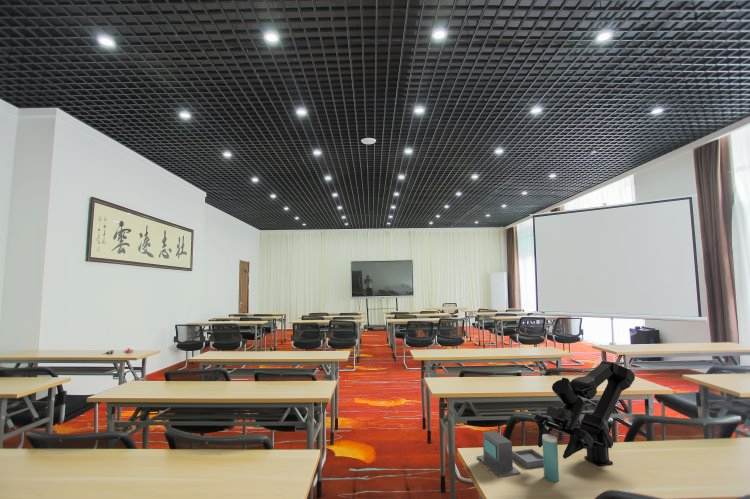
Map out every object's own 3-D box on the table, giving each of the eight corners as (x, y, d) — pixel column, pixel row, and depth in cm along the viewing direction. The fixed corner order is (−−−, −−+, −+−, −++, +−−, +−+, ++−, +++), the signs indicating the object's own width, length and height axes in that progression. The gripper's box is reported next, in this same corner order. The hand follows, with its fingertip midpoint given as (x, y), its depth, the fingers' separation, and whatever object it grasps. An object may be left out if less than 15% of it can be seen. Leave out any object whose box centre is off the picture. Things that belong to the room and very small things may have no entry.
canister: (552, 474, 122) (550, 433, 124) (562, 480, 118) (560, 438, 119) (541, 475, 121) (539, 434, 122) (550, 482, 117) (548, 440, 118)
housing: (496, 455, 136) (495, 428, 137) (520, 473, 122) (519, 443, 123) (477, 457, 134) (476, 430, 135) (499, 477, 120) (498, 446, 121)
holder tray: (532, 454, 137) (531, 448, 137) (548, 465, 128) (548, 459, 129) (512, 457, 134) (511, 451, 135) (527, 468, 126) (527, 462, 126)
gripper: (535, 390, 133) (515, 427, 127) (585, 405, 116) (565, 448, 110) (551, 409, 136) (531, 446, 130) (602, 426, 119) (582, 470, 113)
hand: (551, 452), depth 121 cm, fingers open, 9 cm apart
